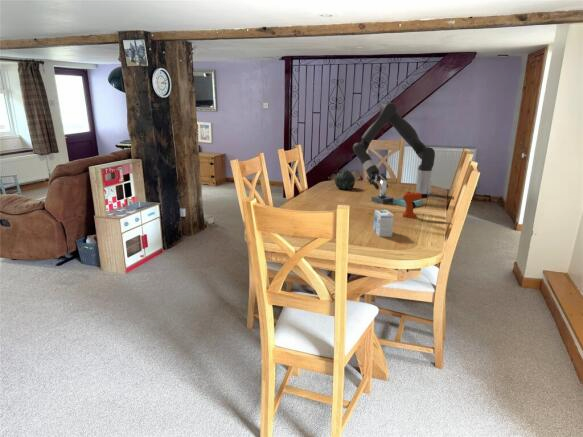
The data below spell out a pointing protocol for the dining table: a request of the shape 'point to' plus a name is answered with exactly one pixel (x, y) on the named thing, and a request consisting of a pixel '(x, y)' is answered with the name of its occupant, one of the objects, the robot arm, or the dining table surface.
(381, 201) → the socket block
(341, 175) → the squash
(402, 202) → the block
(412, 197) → the toy drill
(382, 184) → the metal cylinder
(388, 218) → the light bulb box
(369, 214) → the dining table surface
